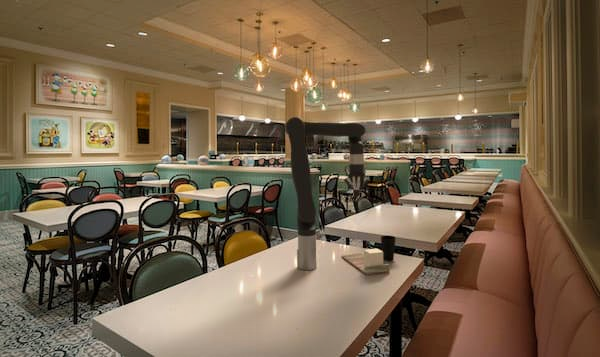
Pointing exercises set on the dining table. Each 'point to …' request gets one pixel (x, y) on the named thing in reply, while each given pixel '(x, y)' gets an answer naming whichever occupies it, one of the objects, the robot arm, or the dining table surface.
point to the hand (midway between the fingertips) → (356, 197)
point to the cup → (388, 247)
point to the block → (373, 257)
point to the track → (358, 263)
